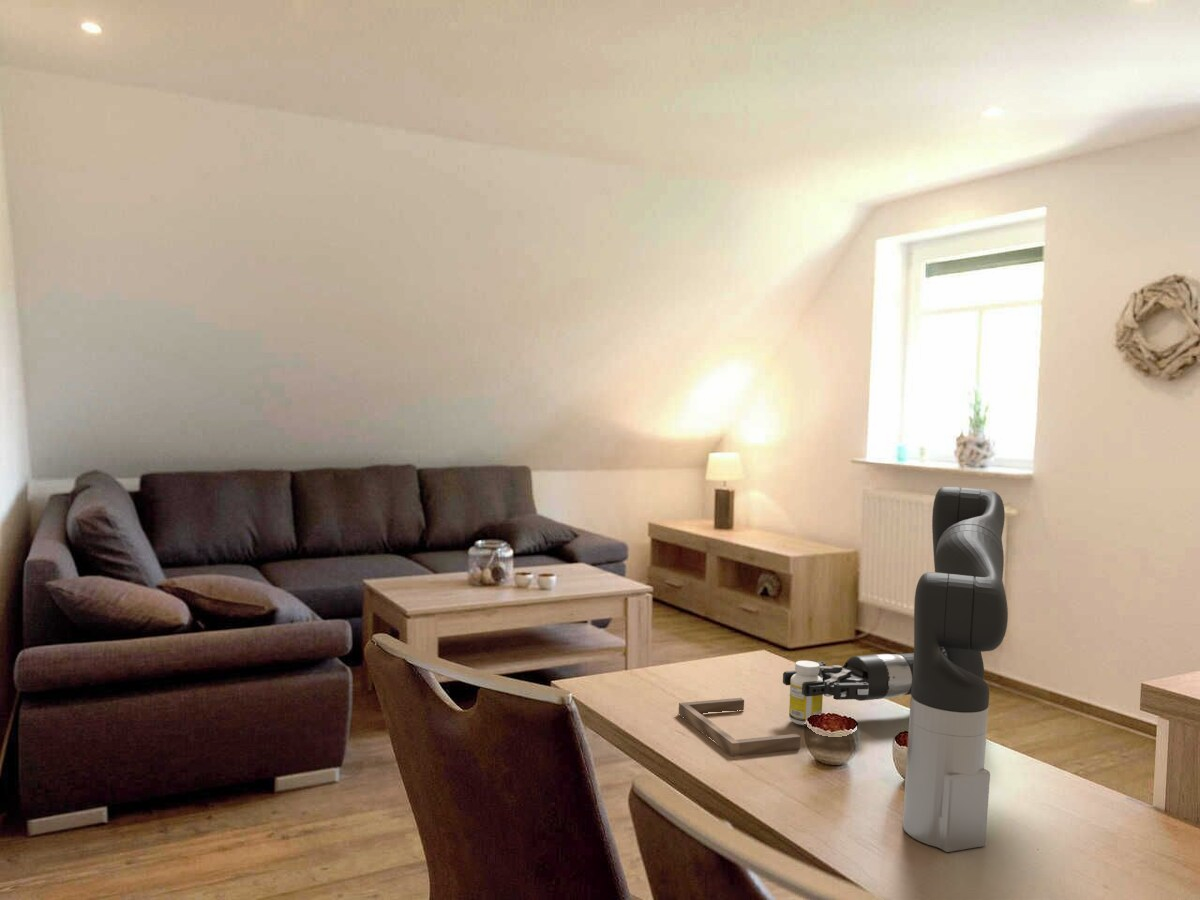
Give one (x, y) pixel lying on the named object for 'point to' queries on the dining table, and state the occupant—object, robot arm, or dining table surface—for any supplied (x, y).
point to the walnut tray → (725, 741)
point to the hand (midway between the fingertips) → (793, 683)
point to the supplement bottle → (799, 703)
